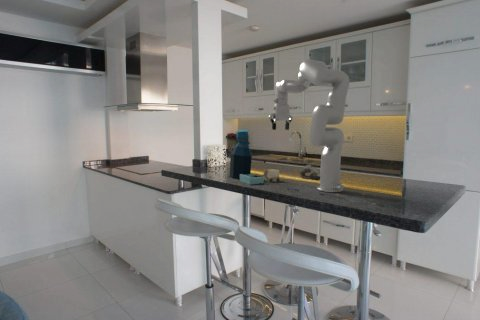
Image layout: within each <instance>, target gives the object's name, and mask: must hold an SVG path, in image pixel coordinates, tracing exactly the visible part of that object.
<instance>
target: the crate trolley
mask: <svg viewBox="0 0 480 320" xmlns="http://www.w3.org/2000/svg"><path fill="white" fill-rule="evenodd" d="M262 177H264V180H265V181H264V182H268V183H273V181H274V182H280V170H278V169H274V168H270V169H263V176H262Z"/></svg>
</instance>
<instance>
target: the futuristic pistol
mask: <svg viewBox="0 0 480 320" xmlns="http://www.w3.org/2000/svg"><path fill="white" fill-rule="evenodd" d="M306 173H307V174H308V173H309V175H306ZM320 173H321V170H319V169H318V168H316V167H314V166H313V165H312V164H306V165H305V167H304V169H303V170H301V171H299V174H300V177H301V178H302V179H306V180H309V179H311V180H314V181H319V180H320Z"/></svg>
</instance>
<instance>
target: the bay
mask: <svg viewBox="0 0 480 320" xmlns="http://www.w3.org/2000/svg"><path fill="white" fill-rule="evenodd" d="M239 182H242V183H244V184H247V185H259V184H260V183H261V184H264V182H265V181H264V177H263V176H257V177H256V176H255V174H251V173H250V174H249V175H242V174H240V179H239Z"/></svg>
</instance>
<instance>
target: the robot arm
mask: <svg viewBox="0 0 480 320" xmlns="http://www.w3.org/2000/svg"><path fill="white" fill-rule="evenodd" d="M297 78H298V80H296V79H295V80H294V79H282V80H281V81H277V82H276V84H275V99H273V102H274V103H275V104H274V105H273V110H272V114H270V115H269V116H268V119H269V121H270V123H271V130H272V131H273V130H274V131H276V129H277V121H284V122H285V125H284V129H285V131H287V130H288V131H289V130H290V124H291V122H292V120H293V119H294V117H293V116H292V115H291V112H290V111H291V110H290V105H289V104H288V101H289V100H288V99H289V97H288V95H289V94H301V93H303V92H305V91H307V89H308V88H309V87H310V85H311V84H312V85H315V86H316V87H317V86H318V87H325V88H326V87H329V88H331V90H330V91H329V93H328V95H327V100H326V101H327V102H326V104H318V105H317V106H316V107H315V108H314V109H313V110H312V113H311V121H310V126H309V127H310V128H309V142H310V144H311V145H312V146H313V147H315V148H318V147H319V148H320V147H321V148H323V149H322V152H321V156H320V171H321V173H320V179H319V180H320V181H319V185H318V186H316V190H318V191H320V192H325V193H341V192H343V190H344V189H345V185H344V184H342V182H341V181H340V180H341V162H342V161H341V159H342V151H343V150H342V149H343V144H344V141H345V134H344V132H343V130H341V129H340V128H338V127H334V126H333V125H335V126H337V125H340V124H341V123H342V122H343V119H344V116H345V109H346V103H347V102H346V101H347V96H348V91H349V88H350V78H349V75H348V74H347V73H346V72H345V71H343V70H339V69H333V68H328V66H327V64H326V63H325V62H324V61H322V60H316V59H315V60H314V59H305V60H303V61H302V62H301V64H300V65H299V72H298V75H297ZM328 125H329V127H327V126H328ZM331 125H332V126H333V127H332V126H331ZM330 126H331V127H330Z"/></svg>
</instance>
